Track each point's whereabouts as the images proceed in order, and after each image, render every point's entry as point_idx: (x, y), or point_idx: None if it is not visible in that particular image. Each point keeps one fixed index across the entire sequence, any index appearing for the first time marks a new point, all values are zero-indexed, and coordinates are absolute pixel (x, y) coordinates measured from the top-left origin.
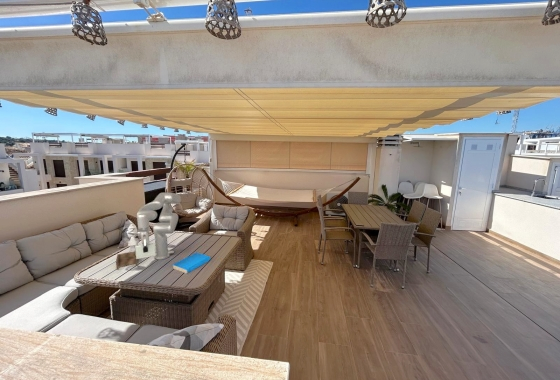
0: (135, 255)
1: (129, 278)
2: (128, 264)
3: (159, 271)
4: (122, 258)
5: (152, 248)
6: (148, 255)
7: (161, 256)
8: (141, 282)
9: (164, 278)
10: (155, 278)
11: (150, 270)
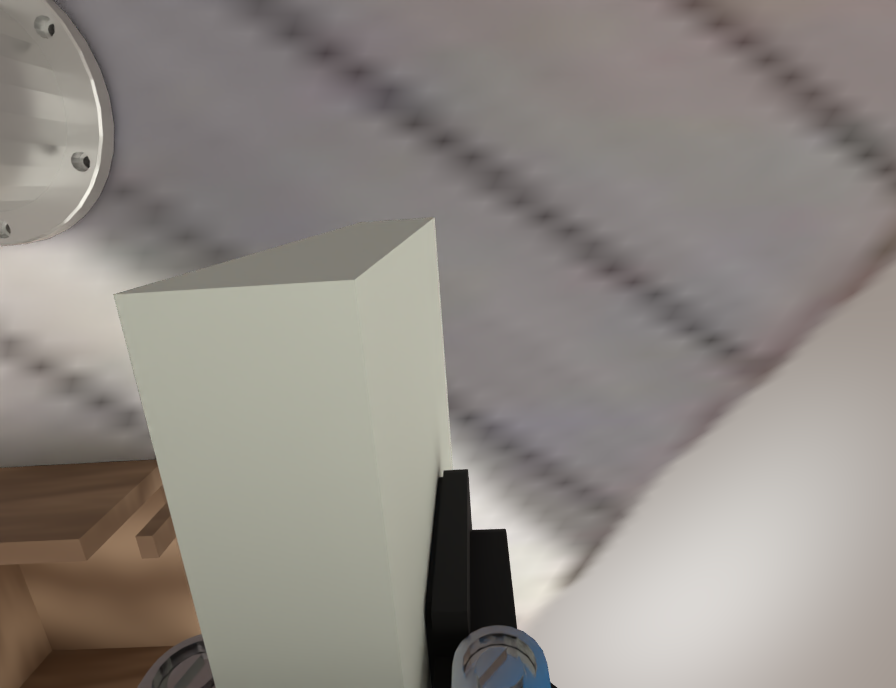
0: (50, 558)
1: (550, 513)
2: (180, 560)
3: (547, 160)
4: (15, 652)
5: (415, 351)
6: (444, 399)
7: (47, 118)
8: (739, 385)
9: (828, 81)
10: (741, 216)
11: (449, 290)
